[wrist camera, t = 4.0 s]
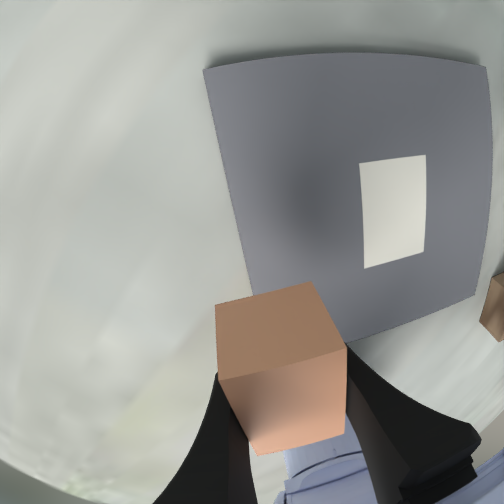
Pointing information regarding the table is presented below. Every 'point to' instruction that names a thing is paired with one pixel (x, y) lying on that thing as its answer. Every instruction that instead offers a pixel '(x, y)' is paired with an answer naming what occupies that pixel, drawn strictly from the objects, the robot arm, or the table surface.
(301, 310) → the brick terracotta
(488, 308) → the brick walnut
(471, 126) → the tower board
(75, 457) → the table surface
